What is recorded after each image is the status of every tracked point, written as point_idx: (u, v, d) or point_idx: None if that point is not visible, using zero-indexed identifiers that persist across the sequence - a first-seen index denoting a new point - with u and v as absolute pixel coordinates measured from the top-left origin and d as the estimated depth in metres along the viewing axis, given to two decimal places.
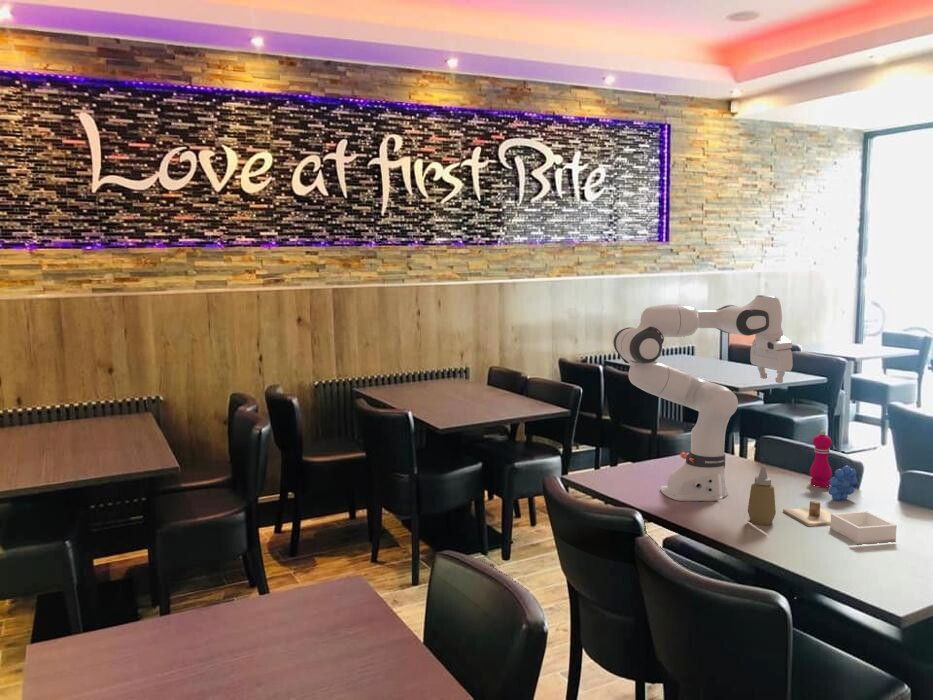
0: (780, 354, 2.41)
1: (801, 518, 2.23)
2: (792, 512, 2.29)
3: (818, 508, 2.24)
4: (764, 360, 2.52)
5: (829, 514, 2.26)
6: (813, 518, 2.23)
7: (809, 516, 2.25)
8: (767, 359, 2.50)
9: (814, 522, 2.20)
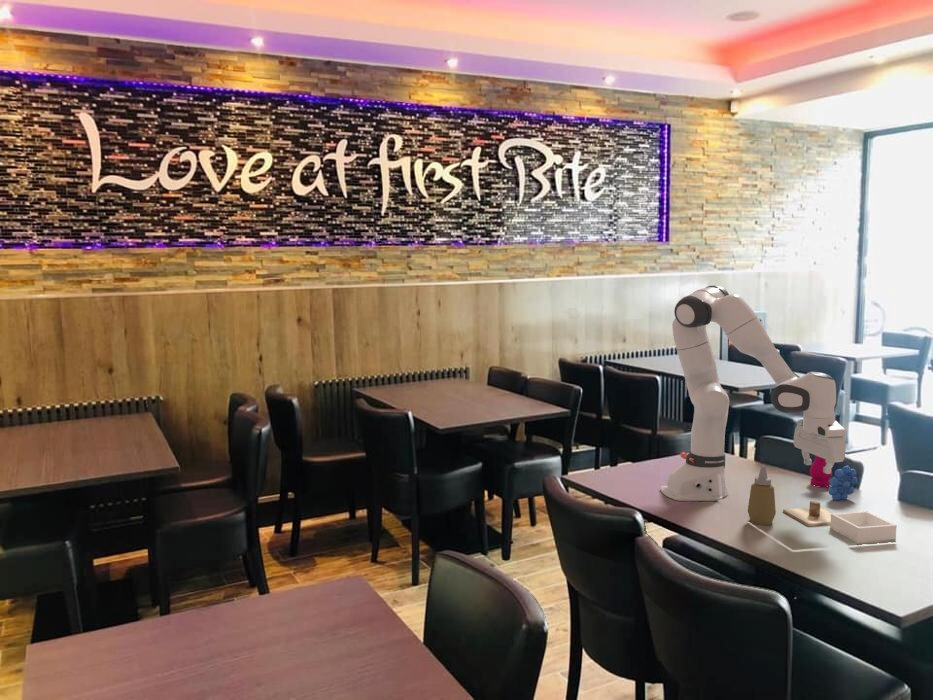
0: (832, 442, 2.13)
1: (801, 518, 2.23)
2: (792, 512, 2.29)
3: (818, 508, 2.24)
4: (811, 446, 2.24)
5: (829, 514, 2.26)
6: (813, 518, 2.23)
7: (809, 516, 2.25)
8: (815, 444, 2.22)
9: (814, 522, 2.20)
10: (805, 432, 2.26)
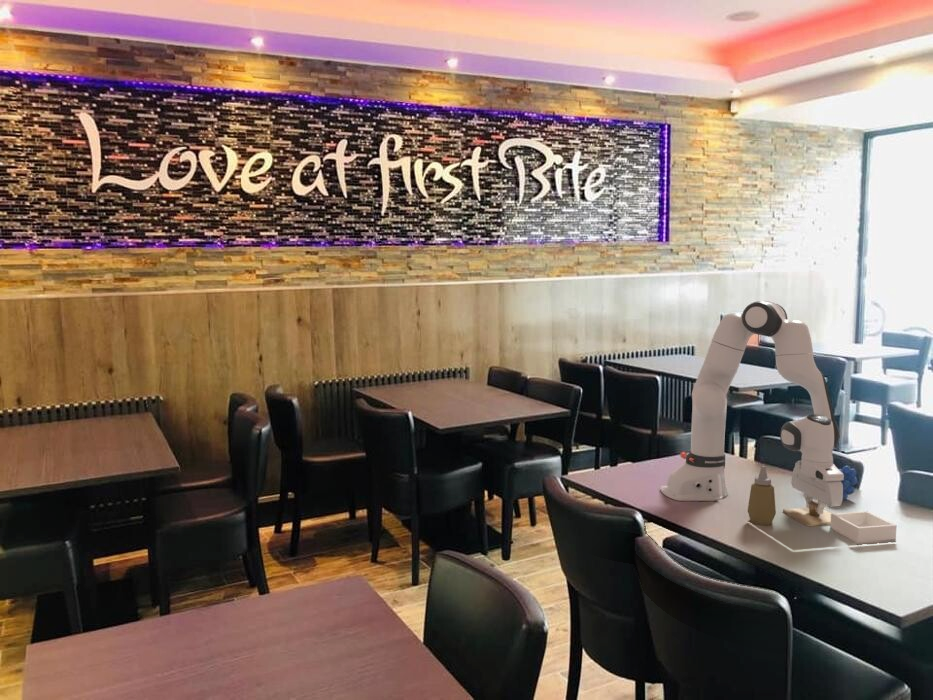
0: (830, 487, 2.15)
1: (801, 518, 2.23)
2: (792, 512, 2.29)
3: None
4: (808, 488, 2.25)
5: (829, 514, 2.26)
6: (813, 518, 2.23)
7: (809, 516, 2.25)
8: (812, 487, 2.24)
9: (814, 522, 2.20)
10: (803, 474, 2.28)
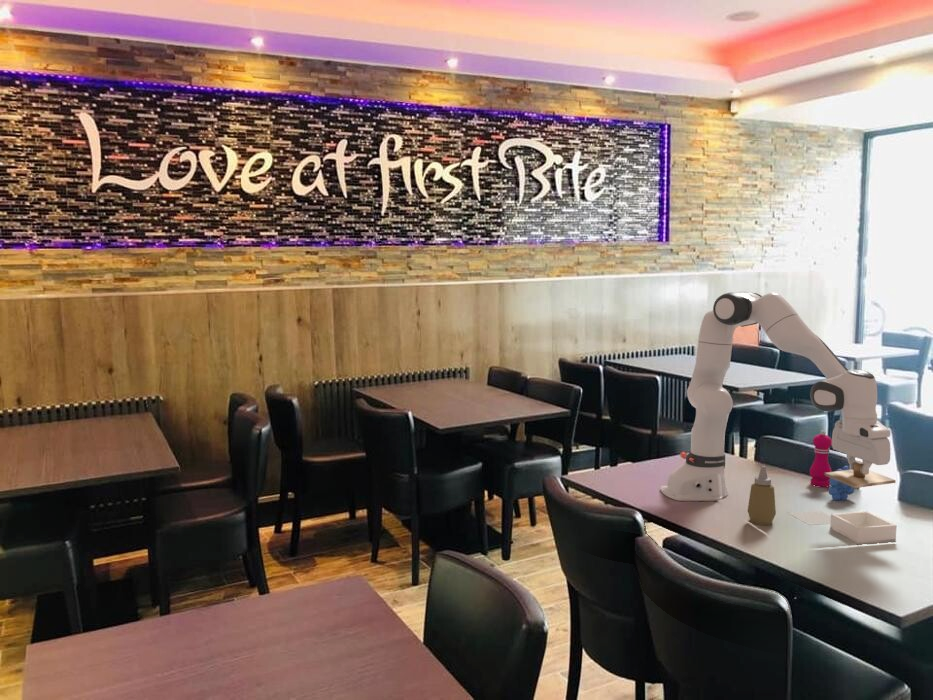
0: (876, 444, 2.02)
1: (846, 480, 2.10)
2: (835, 474, 2.15)
3: None
4: (852, 448, 2.12)
5: (875, 474, 2.13)
6: (858, 480, 2.09)
7: (854, 477, 2.12)
8: (856, 446, 2.10)
9: (861, 483, 2.06)
10: (845, 433, 2.15)
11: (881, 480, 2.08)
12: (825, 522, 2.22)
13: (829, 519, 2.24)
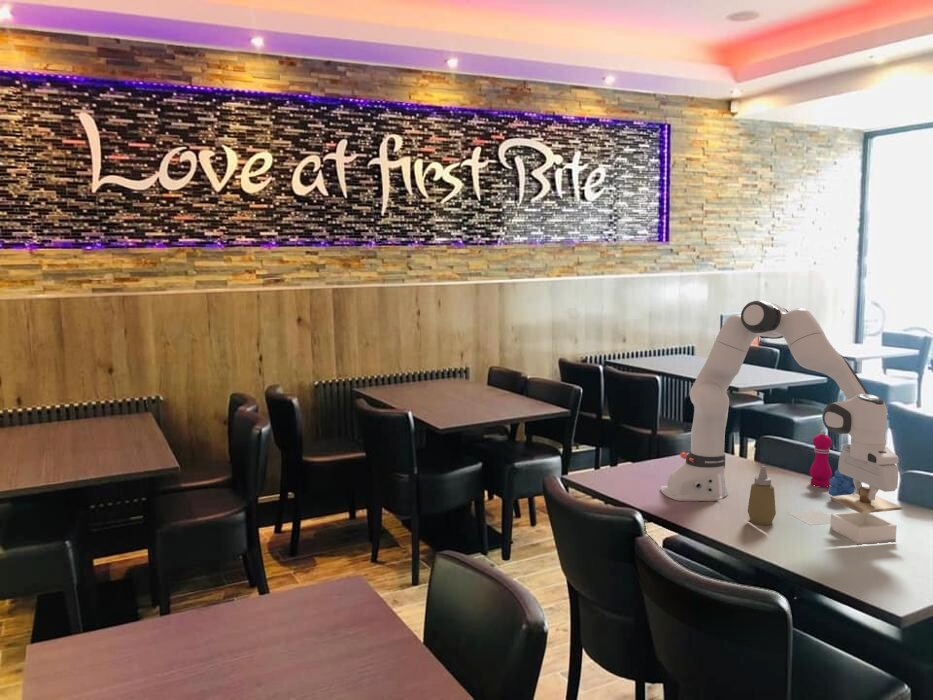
0: (884, 470, 2.00)
1: (852, 505, 2.08)
2: (841, 498, 2.14)
3: None
4: (859, 473, 2.11)
5: (881, 500, 2.12)
6: (864, 505, 2.08)
7: (860, 502, 2.10)
8: (863, 471, 2.09)
9: (867, 509, 2.05)
10: (852, 458, 2.13)
11: (887, 506, 2.07)
12: (825, 522, 2.22)
13: (829, 519, 2.24)
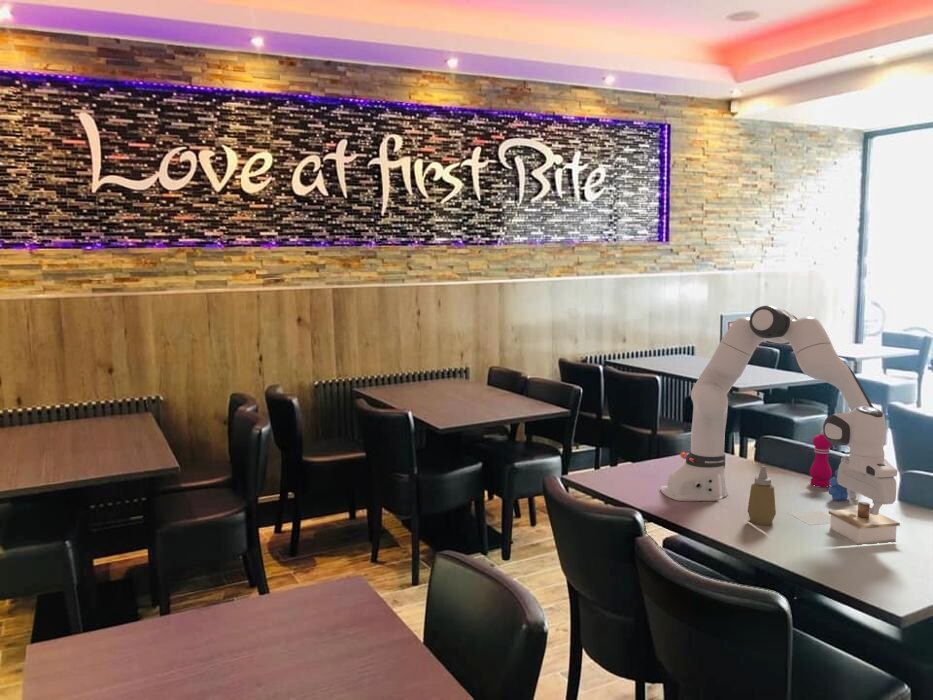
0: (882, 483, 2.01)
1: (850, 520, 2.09)
2: (839, 513, 2.14)
3: (868, 509, 2.10)
4: (857, 485, 2.11)
5: (879, 516, 2.12)
6: (862, 521, 2.08)
7: (858, 518, 2.11)
8: (862, 484, 2.09)
9: (865, 524, 2.05)
10: (851, 470, 2.14)
11: (885, 522, 2.07)
12: (825, 522, 2.22)
13: (829, 519, 2.24)
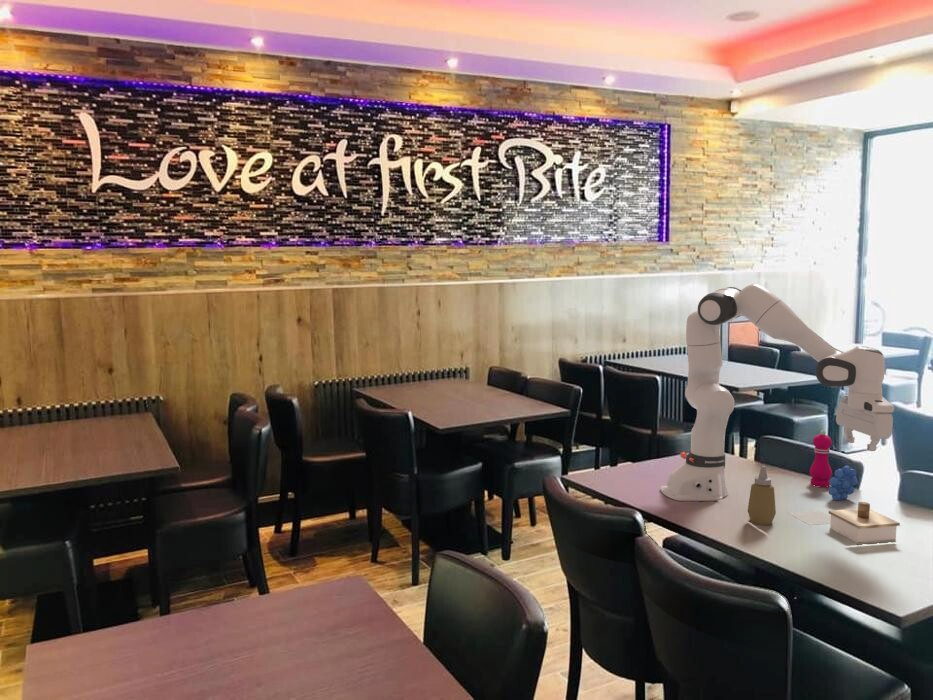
0: (879, 418, 2.07)
1: (850, 520, 2.09)
2: (839, 513, 2.14)
3: (868, 509, 2.10)
4: (855, 422, 2.17)
5: (879, 516, 2.12)
6: (862, 521, 2.08)
7: (858, 518, 2.11)
8: (860, 421, 2.15)
9: (865, 524, 2.05)
10: (849, 408, 2.19)
11: (885, 522, 2.07)
12: (825, 522, 2.22)
13: (829, 519, 2.24)
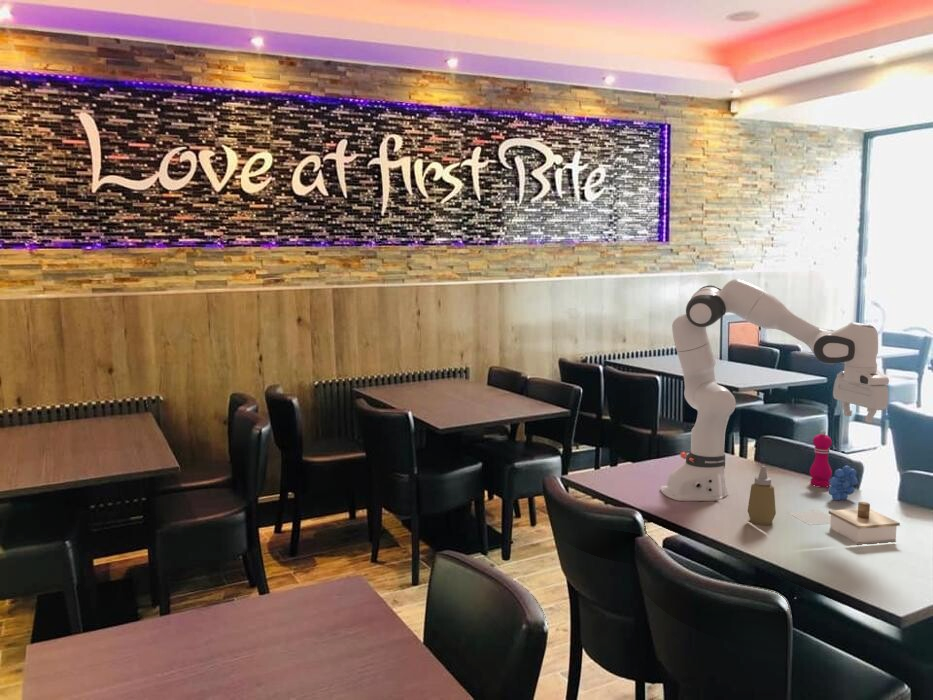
0: (875, 390, 2.15)
1: (850, 520, 2.09)
2: (839, 513, 2.14)
3: (868, 509, 2.10)
4: (852, 396, 2.25)
5: (879, 516, 2.12)
6: (862, 521, 2.08)
7: (858, 518, 2.11)
8: (856, 394, 2.23)
9: (865, 524, 2.05)
10: (846, 383, 2.28)
11: (885, 522, 2.07)
12: (825, 522, 2.22)
13: (829, 519, 2.24)
